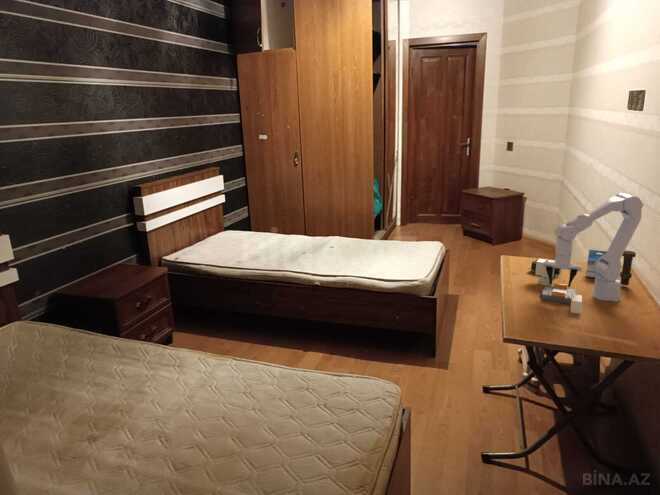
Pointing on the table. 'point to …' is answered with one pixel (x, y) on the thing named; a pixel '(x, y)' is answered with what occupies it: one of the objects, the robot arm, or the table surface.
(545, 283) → the pneumatic valve
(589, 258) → the label tape cartridge
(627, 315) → the table surface
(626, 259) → the bolt
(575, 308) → the block
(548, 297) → the motor housing
